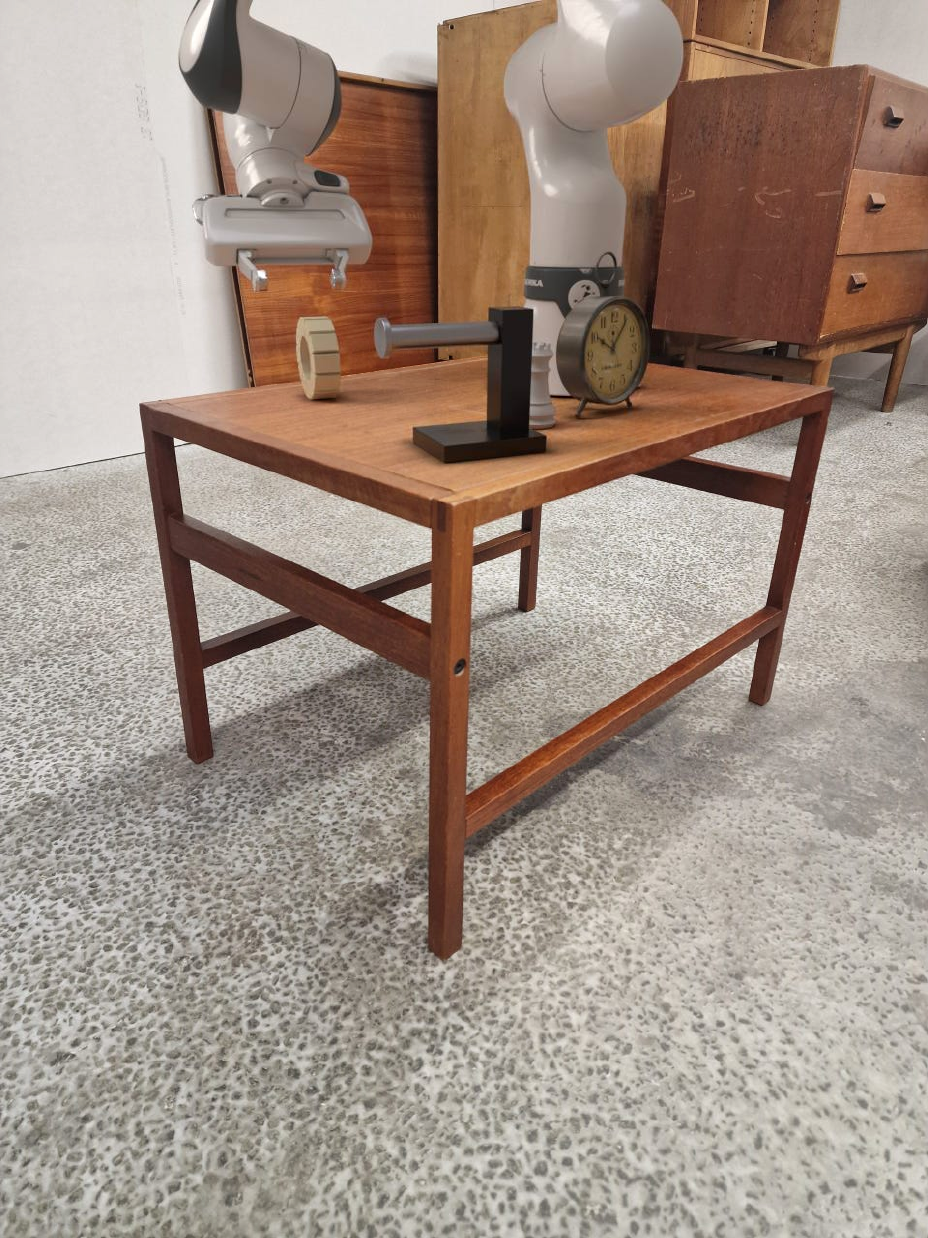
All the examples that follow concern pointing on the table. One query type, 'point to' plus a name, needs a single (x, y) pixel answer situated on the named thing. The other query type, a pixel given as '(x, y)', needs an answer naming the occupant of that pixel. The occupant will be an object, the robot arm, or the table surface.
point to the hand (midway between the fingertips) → (301, 286)
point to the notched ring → (318, 357)
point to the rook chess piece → (541, 388)
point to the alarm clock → (603, 347)
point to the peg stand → (505, 383)
